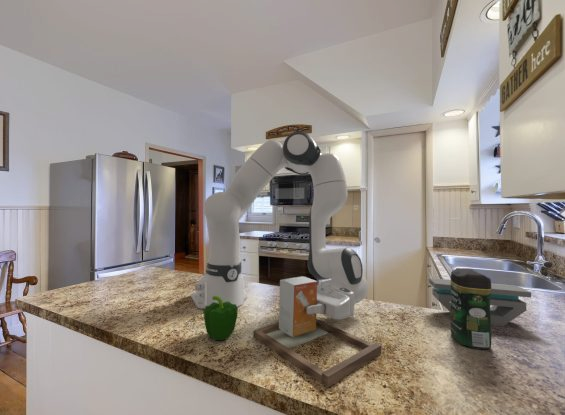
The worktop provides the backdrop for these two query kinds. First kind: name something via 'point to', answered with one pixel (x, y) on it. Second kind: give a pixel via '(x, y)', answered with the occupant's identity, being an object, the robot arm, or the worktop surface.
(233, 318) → the bell pepper
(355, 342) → the brown wooden frame
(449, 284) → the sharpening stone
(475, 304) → the coffee jar
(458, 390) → the worktop surface
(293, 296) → the small box
